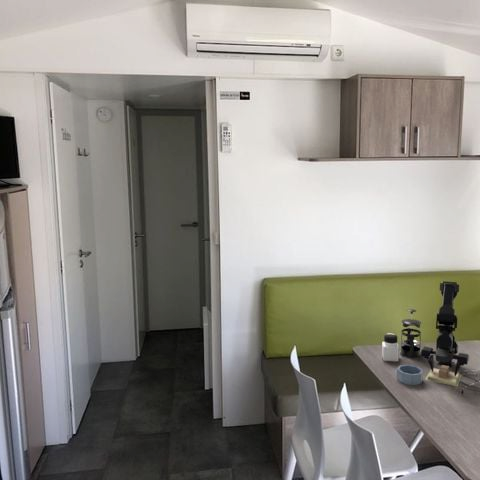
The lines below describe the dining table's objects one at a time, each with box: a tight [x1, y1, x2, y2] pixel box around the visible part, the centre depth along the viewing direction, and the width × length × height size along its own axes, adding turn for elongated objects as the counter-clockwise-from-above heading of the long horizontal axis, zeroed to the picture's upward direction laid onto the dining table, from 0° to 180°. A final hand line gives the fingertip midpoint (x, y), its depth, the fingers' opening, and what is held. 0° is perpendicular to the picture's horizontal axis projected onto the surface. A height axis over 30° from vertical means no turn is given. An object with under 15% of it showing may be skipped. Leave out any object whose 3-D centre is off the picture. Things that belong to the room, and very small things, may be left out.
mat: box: [424, 369, 463, 387], centre depth 208 cm, size 13×13×1 cm
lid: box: [428, 365, 460, 385], centre depth 207 cm, size 11×11×4 cm
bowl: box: [396, 364, 424, 386], centre depth 205 cm, size 10×10×5 cm
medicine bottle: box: [381, 333, 400, 362], centre depth 229 cm, size 7×7×12 cm
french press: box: [399, 308, 422, 359], centre depth 233 cm, size 12×9×23 cm
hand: (443, 373), depth 207 cm, fingers open, 9 cm apart
